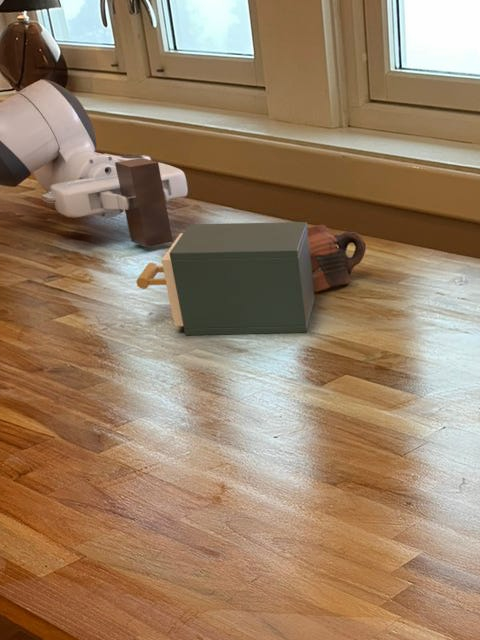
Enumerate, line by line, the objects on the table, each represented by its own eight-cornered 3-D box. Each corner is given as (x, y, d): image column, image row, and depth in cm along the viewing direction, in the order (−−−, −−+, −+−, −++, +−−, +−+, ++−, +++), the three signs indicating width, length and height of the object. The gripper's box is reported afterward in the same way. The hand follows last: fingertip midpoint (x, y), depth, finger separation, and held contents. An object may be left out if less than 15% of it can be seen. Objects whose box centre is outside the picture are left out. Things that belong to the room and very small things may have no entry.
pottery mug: (295, 301, 127) (269, 239, 125) (296, 311, 137) (271, 253, 135) (379, 268, 129) (354, 206, 127) (374, 280, 138) (350, 223, 136)
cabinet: (185, 335, 116) (169, 252, 110) (203, 301, 126) (189, 224, 120) (306, 332, 117) (297, 250, 111) (315, 298, 127) (306, 221, 121)
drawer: (139, 327, 116) (124, 260, 111) (158, 296, 125) (146, 233, 120) (287, 324, 117) (278, 257, 112) (296, 293, 126) (288, 231, 121)
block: (146, 247, 144) (130, 166, 137) (131, 241, 146) (114, 162, 139) (173, 241, 146) (158, 162, 139) (157, 235, 149) (142, 157, 142)
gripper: (30, 173, 142) (75, 188, 134) (154, 153, 153) (202, 166, 146) (42, 218, 146) (86, 235, 138) (162, 196, 157) (209, 210, 150)
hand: (147, 200), depth 142 cm, fingers closed on block, 4 cm apart
